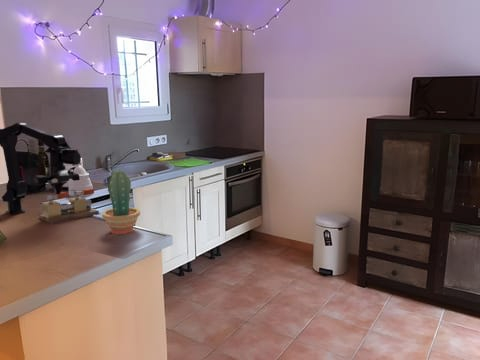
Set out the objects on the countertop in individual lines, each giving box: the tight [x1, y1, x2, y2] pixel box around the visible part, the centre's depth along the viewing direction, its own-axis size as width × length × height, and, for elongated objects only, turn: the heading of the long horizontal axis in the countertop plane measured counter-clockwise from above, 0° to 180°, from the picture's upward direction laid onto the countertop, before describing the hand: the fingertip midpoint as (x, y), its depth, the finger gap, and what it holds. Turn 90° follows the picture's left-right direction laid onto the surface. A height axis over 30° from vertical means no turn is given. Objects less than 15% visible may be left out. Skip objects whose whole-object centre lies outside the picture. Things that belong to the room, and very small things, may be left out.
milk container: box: [61, 157, 84, 189], centre depth 243 cm, size 17×17×18 cm
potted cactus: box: [101, 169, 141, 235], centre depth 160 cm, size 15×15×25 cm
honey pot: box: [68, 164, 94, 198], centre depth 225 cm, size 13×13×18 cm
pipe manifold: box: [41, 187, 95, 219], centre depth 182 cm, size 6×23×10 cm, turn 138°
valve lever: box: [46, 191, 68, 202], centre depth 178 cm, size 9×3×2 cm, turn 153°
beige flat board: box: [38, 207, 100, 225], centre depth 182 cm, size 13×22×2 cm, turn 138°
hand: (57, 196), depth 181 cm, fingers closed
